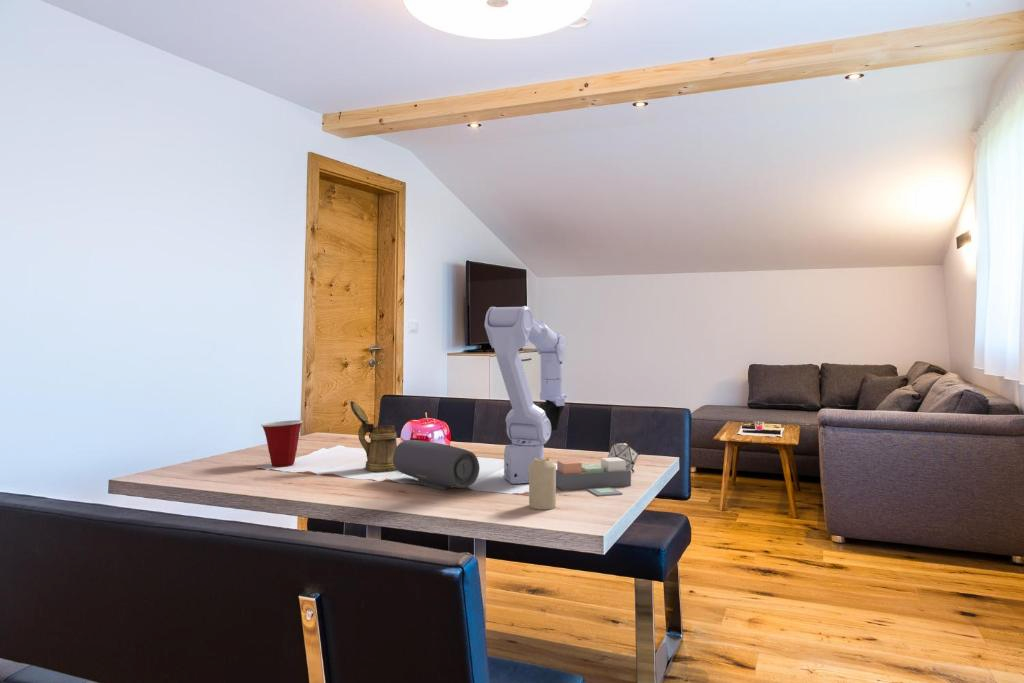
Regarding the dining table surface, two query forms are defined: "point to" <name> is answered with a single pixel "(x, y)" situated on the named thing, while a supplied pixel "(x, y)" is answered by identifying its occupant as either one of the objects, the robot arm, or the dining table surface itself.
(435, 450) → the bluetooth speaker
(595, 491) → the card
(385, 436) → the wooden mug
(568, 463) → the terracotta button
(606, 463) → the cream button
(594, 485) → the button bar
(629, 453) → the game die
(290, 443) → the plastic cup
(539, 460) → the candle
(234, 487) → the dining table surface
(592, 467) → the sage button
